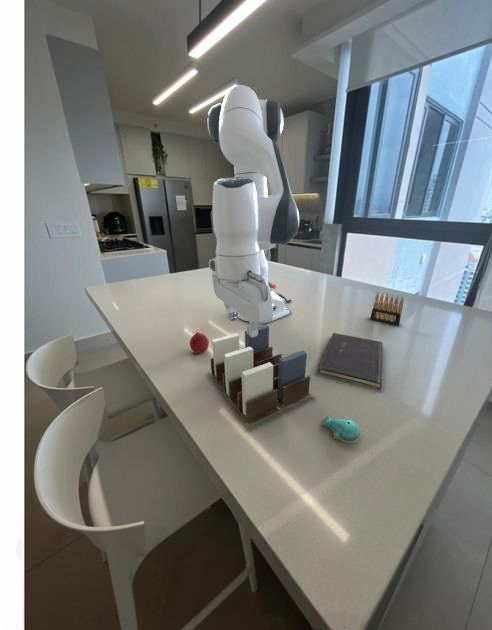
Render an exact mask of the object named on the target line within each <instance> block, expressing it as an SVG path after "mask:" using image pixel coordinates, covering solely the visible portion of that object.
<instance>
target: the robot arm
mask: <svg viewBox="0 0 492 630" xmlns="http://www.w3.org/2000/svg"><path fill="white" fill-rule="evenodd" d="M284 120H285V118H284V114H283V110H282V108H281V104H280V103H279V101H278V100H275V99H271V98H266V99H259V97H258V95H257V94H256V92H255V91H254V90H253V88H251V87H249V86H247V85H243V84H236V85H234V86H231V88H230V89H228V91H227V92H226V93H225V95H224V98H223V101H222V102H219V103H217V104H214V105H212V106H211V107H210V109H209V110H208V112H207V124H206V126H207V131H208V134H209V137H210V139H211V141H212V143H213V144H214V145H215V146H216V147H218V148H220V151H221V153H222V154H223V156H224V158H225V159H226V160H227V161H228V163H230V164H231V165H233V175H234V176H230V177H228V176H227V177H222V178H219V179H217V180H215V182H214V183H213V186H212V187H213V188H212V204H211V205H212V207H211V211H210V221H211V232H212V234H213V235H214V236H215V239H216V246H215V257H214V258H212V259H209V260H208V268H209V269H210V270H211V278H212V285H213V292H214V295H215V296H216V298H217V299H219V300H220V301H222V302H223V306H224V308H225V311H226V314H227V315H226V317H227V319H228V320H229V321H230V322H235V321H237V320H238V319H240V320H241V321H244V322H248V323H249V326H248V327H246V331H248V332H247V334H248V335H249V336H250V337H255V336H257V335H258V328H259V327H261V326H262V325H266V324H268V323H271V322H273V321H275V320H278V319H280V318H283V317H285V316H287V315H288V316H289V315H290V312H291V311H290V309H289V308H288V307H286V306H285V302H286V303H290V302H292V299H287V298H286V297H285V296H284V295H282V294H280V293H278V292H276V291H273V290H276V288H277V284H276V283H273V282H272V283H271V282H269V263H268V260H267V258H266V255H265V252H264V251H267V250H268V251H269V250H271V249H273V248H274V247H275V246H276V245H280V246H285V245H287V244H288V243H289V242H291V240H293V239H294V238H295V237H296V236H297V235H298V233H299V229H300V228H299V227H300V214H299V209H298V206H297V203H296V200H295V197H294V196H293V193H292V191H291V186H290V183H289V178H288V175H287V172H286V171H287V170H286V167H285V164H284V159H283V156H282V154H281V151H280V147H279V146H278V144H277V143H278V141H279V139H280V138H281V135H282V132H283V129H284ZM268 185H269V189H270V193H271V196H268Z"/></svg>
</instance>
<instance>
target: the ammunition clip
mask: <svg viewBox="0 0 492 630" xmlns="http://www.w3.org/2000/svg"><path fill="white" fill-rule="evenodd" d="M384 297H385V298H384ZM404 302H405V295H402V296H401V297H400V300H399V295H398V294H396V296H395V299H394V293H392V294H391V296H390V298H389V293H388V292H387V293H386V295H385V294H384V292H382V293H381V294H380V292H379V291H377V292H376V294H375V296H374V301H373V304H372V310H371V313H370V317H369V320H370V321H375V322H379V323H383V324H386V325H387V324H388V325H391V326H396V327H399V326H400V324H401V317H402V312H403V309H404Z"/></svg>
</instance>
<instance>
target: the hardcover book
mask: <svg viewBox="0 0 492 630" xmlns="http://www.w3.org/2000/svg"><path fill="white" fill-rule="evenodd" d="M383 345H384V343H383V342H382V341H379V340H373V339H369V338H364V337H358V336H353V335H352V336H351V335H347V334H342V333H337V332H336V333H335V332H333V333H332V335H331V337H330V340H329V342H328V345H327V347H326V350H325V353H324V355H323V358H322V359H321V362H320V365H319V367H318V370H319V373H322V374H326V375H330V376H334V377H338V378H342V379H347V380H349V381H354V382H359V383H361V384H362V383H363V384H367V385H371V386H373V387H374V388H376V389H377V390H381V389H382V386H383V350H384V349H383Z"/></svg>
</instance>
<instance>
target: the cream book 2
mask: <svg viewBox="0 0 492 630" xmlns="http://www.w3.org/2000/svg"><path fill="white" fill-rule="evenodd" d="M243 348H244V349H242V348H241V349H240V348H239V350H237V351H234V352H231V353H227V354H224V365H225V381H226V393H227V394H228V396H229V381H232V380H234V379H237V378H240V377H242V372H244V371H246V370H249V369H252V368H253V349H252V348H251V347H247V348H245V347H243ZM226 393H225V394H226ZM227 394H226V395H227ZM228 396H227V397H228Z"/></svg>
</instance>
